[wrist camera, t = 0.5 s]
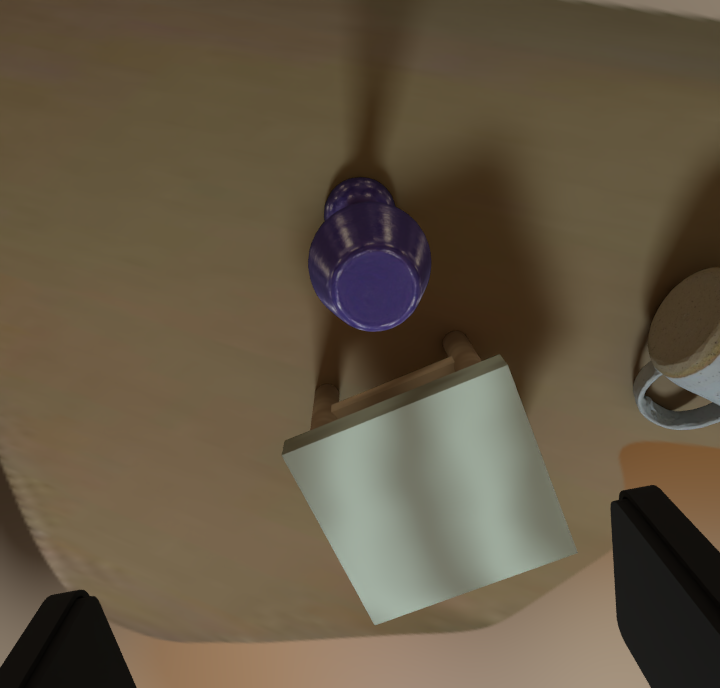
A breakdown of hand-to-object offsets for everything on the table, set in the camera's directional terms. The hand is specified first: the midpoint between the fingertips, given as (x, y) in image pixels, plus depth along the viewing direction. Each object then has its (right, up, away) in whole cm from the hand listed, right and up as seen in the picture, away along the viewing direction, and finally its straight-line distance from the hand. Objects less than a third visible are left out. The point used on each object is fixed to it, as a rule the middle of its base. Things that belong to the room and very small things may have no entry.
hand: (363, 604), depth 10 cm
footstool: (+4, -1, +28) cm, 28 cm away
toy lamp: (0, +12, +24) cm, 27 cm away
